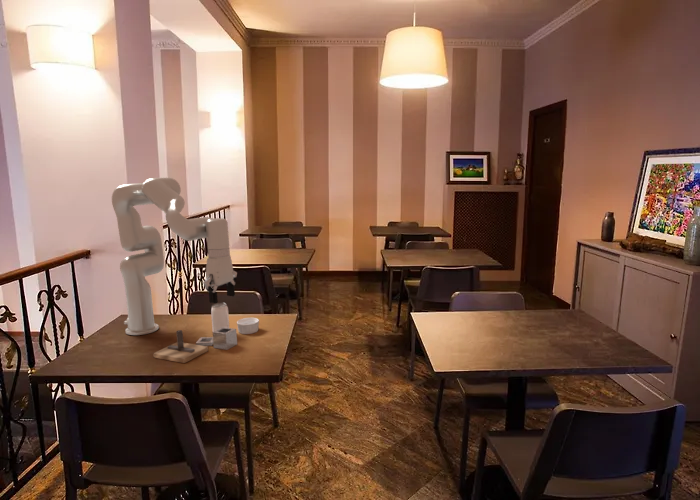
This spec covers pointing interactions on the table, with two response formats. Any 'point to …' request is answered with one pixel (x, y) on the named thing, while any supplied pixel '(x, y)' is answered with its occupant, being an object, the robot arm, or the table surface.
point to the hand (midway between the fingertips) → (222, 299)
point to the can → (219, 316)
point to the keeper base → (181, 354)
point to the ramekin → (248, 325)
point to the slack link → (200, 342)
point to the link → (224, 338)
